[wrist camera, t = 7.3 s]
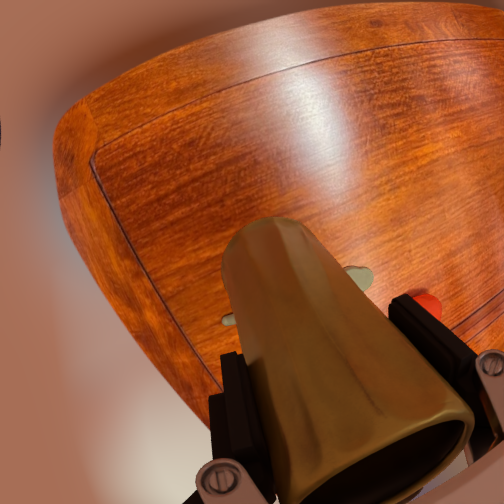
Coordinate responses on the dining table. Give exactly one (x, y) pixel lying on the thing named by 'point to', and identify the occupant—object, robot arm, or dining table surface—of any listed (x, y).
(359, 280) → the spoon
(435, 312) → the pumpkin
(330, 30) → the dining table surface
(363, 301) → the vase
